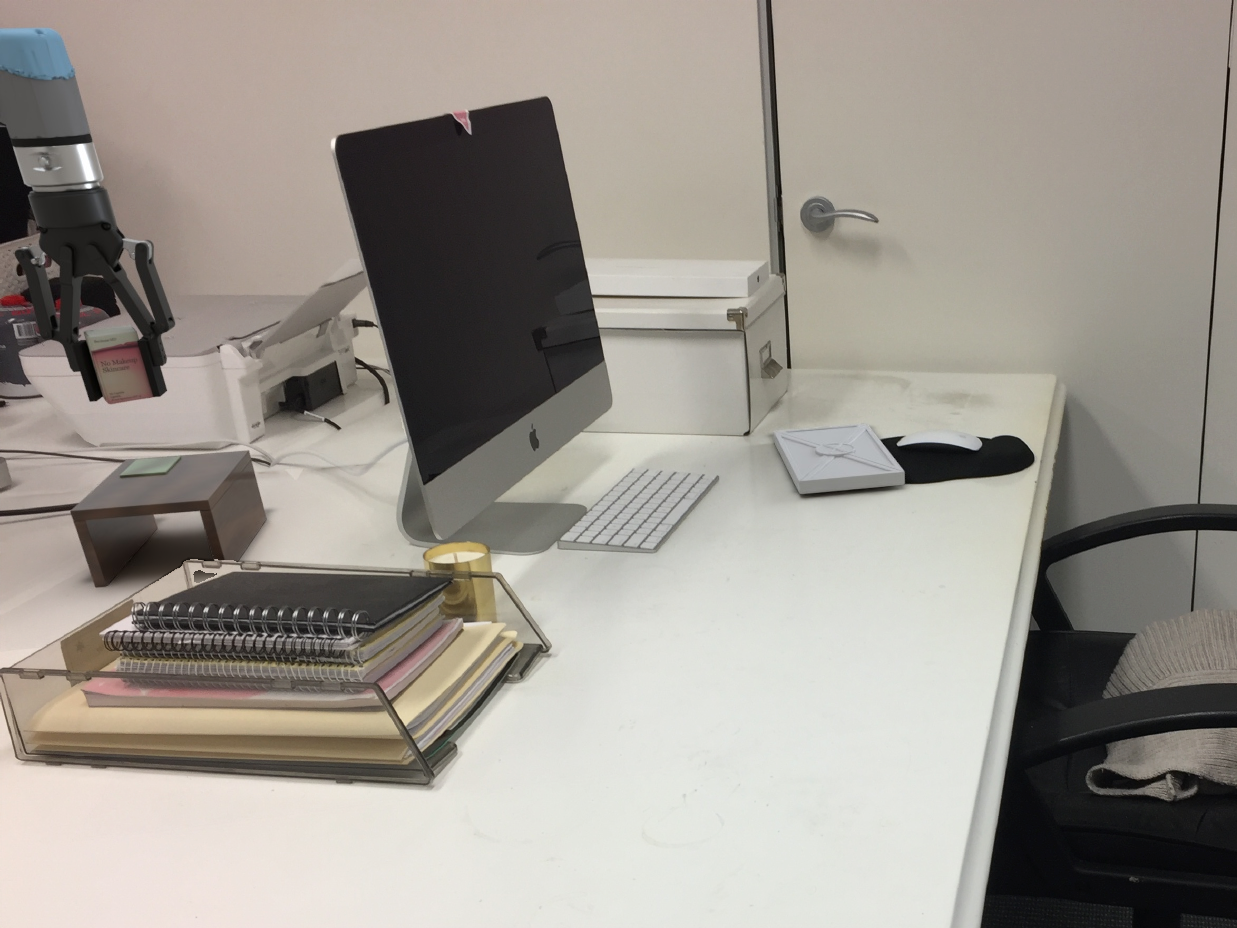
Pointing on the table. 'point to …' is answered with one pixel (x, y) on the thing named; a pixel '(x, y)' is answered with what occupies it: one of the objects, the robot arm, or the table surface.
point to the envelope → (837, 458)
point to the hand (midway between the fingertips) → (128, 395)
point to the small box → (118, 364)
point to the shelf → (169, 507)
